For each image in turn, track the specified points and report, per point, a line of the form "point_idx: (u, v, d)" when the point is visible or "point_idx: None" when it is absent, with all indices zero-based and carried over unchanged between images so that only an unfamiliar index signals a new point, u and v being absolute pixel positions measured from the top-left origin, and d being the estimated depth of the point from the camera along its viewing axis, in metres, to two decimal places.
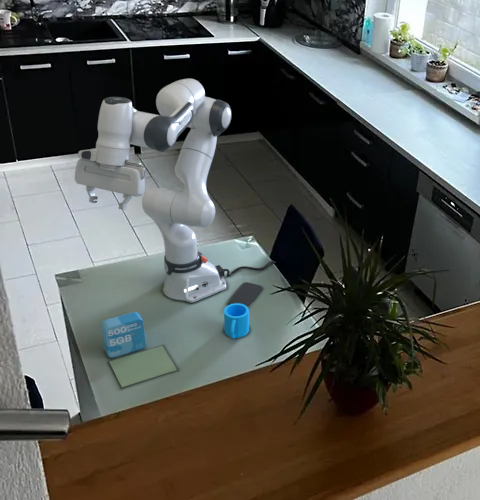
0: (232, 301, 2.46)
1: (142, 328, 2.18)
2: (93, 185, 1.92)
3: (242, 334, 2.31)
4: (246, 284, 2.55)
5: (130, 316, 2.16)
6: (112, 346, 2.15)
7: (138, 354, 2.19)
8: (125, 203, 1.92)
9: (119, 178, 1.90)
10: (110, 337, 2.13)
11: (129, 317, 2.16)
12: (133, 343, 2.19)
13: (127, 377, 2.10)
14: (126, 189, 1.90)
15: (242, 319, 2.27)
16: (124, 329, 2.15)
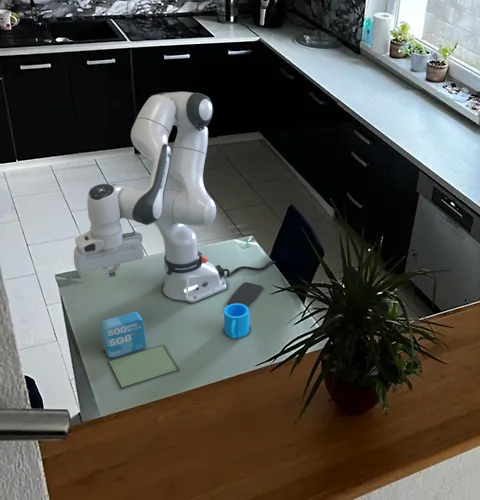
0: (232, 301, 2.46)
1: (142, 328, 2.18)
2: (98, 267, 2.09)
3: (242, 334, 2.31)
4: (246, 284, 2.55)
5: (130, 316, 2.16)
6: (112, 346, 2.15)
7: (138, 354, 2.19)
8: None
9: (123, 251, 2.11)
10: (110, 337, 2.13)
11: (129, 317, 2.16)
12: (133, 343, 2.19)
13: (127, 377, 2.10)
14: (132, 257, 2.13)
15: (242, 319, 2.27)
16: (124, 329, 2.15)
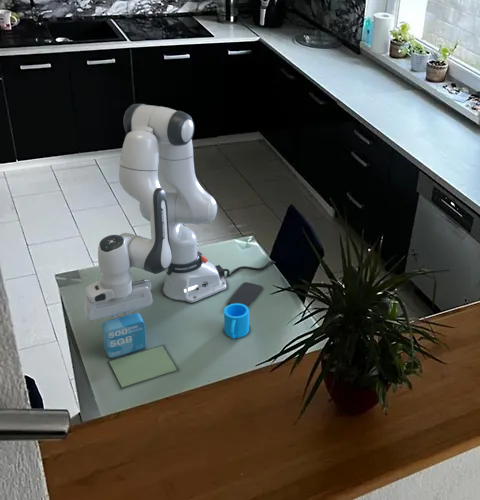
0: (232, 301, 2.46)
1: (143, 330, 2.17)
2: (108, 315, 2.12)
3: (242, 334, 2.31)
4: (246, 284, 2.55)
5: (131, 318, 2.15)
6: (112, 347, 2.15)
7: (138, 354, 2.19)
8: None
9: (132, 299, 2.14)
10: (111, 339, 2.12)
11: (131, 319, 2.15)
12: (133, 344, 2.19)
13: (127, 377, 2.10)
14: (141, 304, 2.17)
15: (242, 319, 2.27)
16: (125, 331, 2.14)
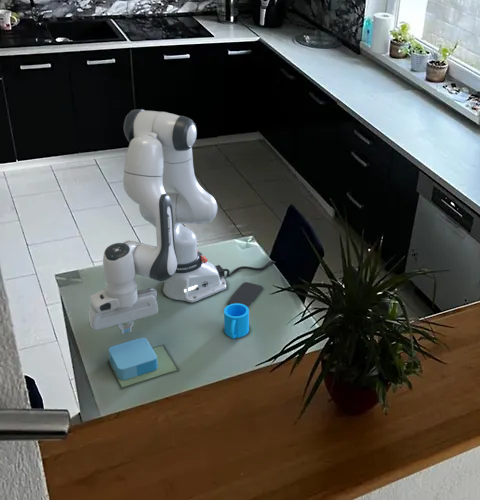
0: (232, 301, 2.46)
1: None
2: (113, 324, 2.08)
3: (242, 334, 2.31)
4: (246, 284, 2.55)
5: (147, 366, 2.11)
6: None
7: None
8: None
9: (138, 308, 2.11)
10: None
11: (147, 367, 2.11)
12: None
13: None
14: (147, 313, 2.13)
15: (242, 319, 2.27)
16: None
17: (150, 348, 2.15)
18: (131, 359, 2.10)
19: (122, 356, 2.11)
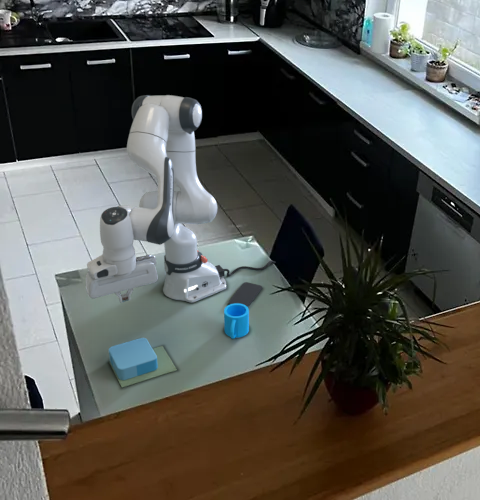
0: (232, 301, 2.46)
1: None
2: (111, 292, 2.00)
3: (242, 334, 2.31)
4: (246, 284, 2.55)
5: (147, 366, 2.11)
6: None
7: None
8: None
9: (136, 275, 2.03)
10: None
11: (147, 367, 2.11)
12: None
13: None
14: (146, 281, 2.05)
15: (242, 319, 2.27)
16: None
17: (150, 348, 2.15)
18: (131, 359, 2.10)
19: (122, 356, 2.11)
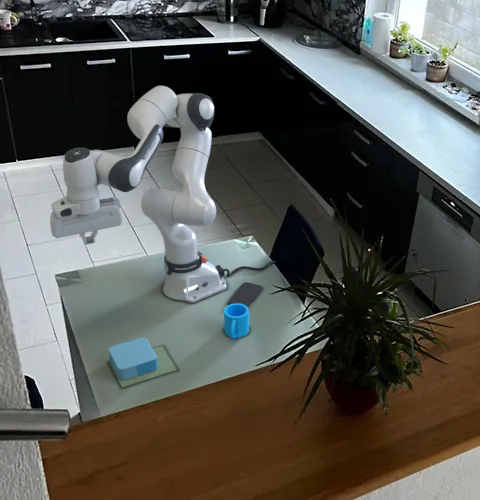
0: (232, 301, 2.46)
1: None
2: (75, 233, 2.06)
3: (242, 334, 2.31)
4: (246, 284, 2.55)
5: (147, 366, 2.11)
6: None
7: None
8: None
9: (100, 217, 2.08)
10: None
11: (147, 367, 2.11)
12: None
13: None
14: (110, 224, 2.11)
15: (242, 319, 2.27)
16: None
17: (150, 348, 2.15)
18: (131, 359, 2.10)
19: (122, 356, 2.11)
